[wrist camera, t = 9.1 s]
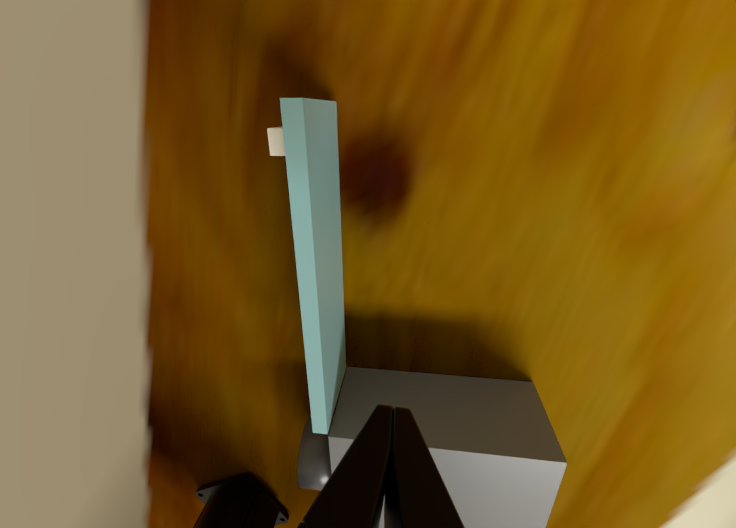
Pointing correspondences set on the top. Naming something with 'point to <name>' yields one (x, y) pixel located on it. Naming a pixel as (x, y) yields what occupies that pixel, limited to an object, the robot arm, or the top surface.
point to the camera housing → (455, 441)
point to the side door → (316, 243)
